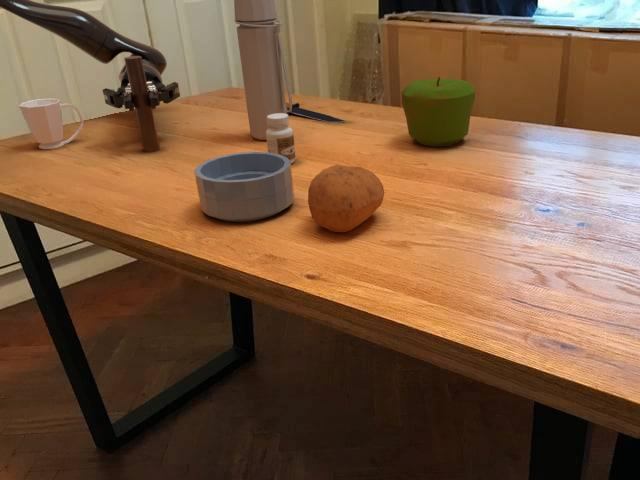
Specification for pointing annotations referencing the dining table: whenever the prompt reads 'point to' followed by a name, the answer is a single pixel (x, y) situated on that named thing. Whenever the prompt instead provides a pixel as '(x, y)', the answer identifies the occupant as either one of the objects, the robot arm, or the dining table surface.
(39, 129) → the cup
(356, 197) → the potato
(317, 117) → the knife
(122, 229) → the dining table surface
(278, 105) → the water bottle
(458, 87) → the apple
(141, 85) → the stick
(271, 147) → the pill bottle
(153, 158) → the dining table surface
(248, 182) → the bowl
